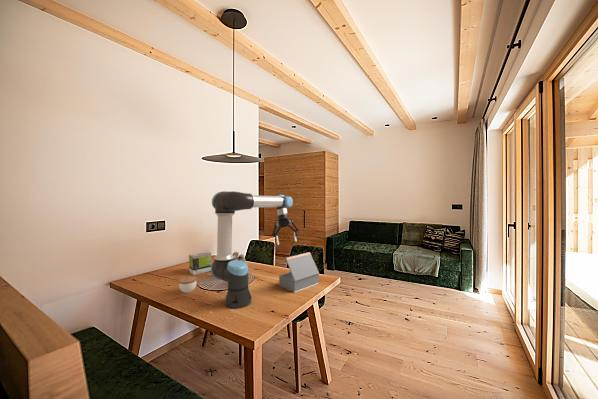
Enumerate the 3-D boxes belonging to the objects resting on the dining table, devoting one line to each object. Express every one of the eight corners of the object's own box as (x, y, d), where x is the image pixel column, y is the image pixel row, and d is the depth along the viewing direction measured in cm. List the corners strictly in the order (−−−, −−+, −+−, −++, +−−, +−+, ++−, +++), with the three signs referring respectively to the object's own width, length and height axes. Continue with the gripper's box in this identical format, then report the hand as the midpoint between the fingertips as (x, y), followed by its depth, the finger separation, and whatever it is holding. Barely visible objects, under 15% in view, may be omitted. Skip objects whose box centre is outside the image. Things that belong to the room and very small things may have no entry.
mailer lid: (294, 281, 159) (295, 281, 159) (285, 258, 166) (285, 257, 165) (318, 273, 174) (319, 272, 173) (309, 252, 180) (309, 251, 180)
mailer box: (294, 292, 160) (294, 281, 159) (279, 285, 172) (279, 275, 171) (318, 283, 174) (318, 273, 174) (303, 277, 186) (302, 268, 186)
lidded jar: (200, 290, 166) (199, 276, 165) (185, 295, 157) (184, 281, 156) (190, 286, 172) (190, 273, 171) (175, 292, 163) (175, 277, 162)
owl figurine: (235, 277, 188) (234, 255, 188) (223, 275, 194) (222, 253, 193) (250, 270, 204) (250, 250, 203) (239, 268, 210) (239, 248, 209)
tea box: (207, 268, 212) (207, 250, 212) (212, 271, 204) (211, 253, 204) (189, 272, 203) (188, 254, 202) (193, 275, 195) (192, 256, 194)
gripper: (299, 212, 191) (304, 240, 185) (268, 219, 195) (272, 246, 189) (297, 210, 184) (302, 239, 178) (265, 217, 188) (269, 245, 182)
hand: (287, 243), depth 184 cm, fingers open, 13 cm apart
